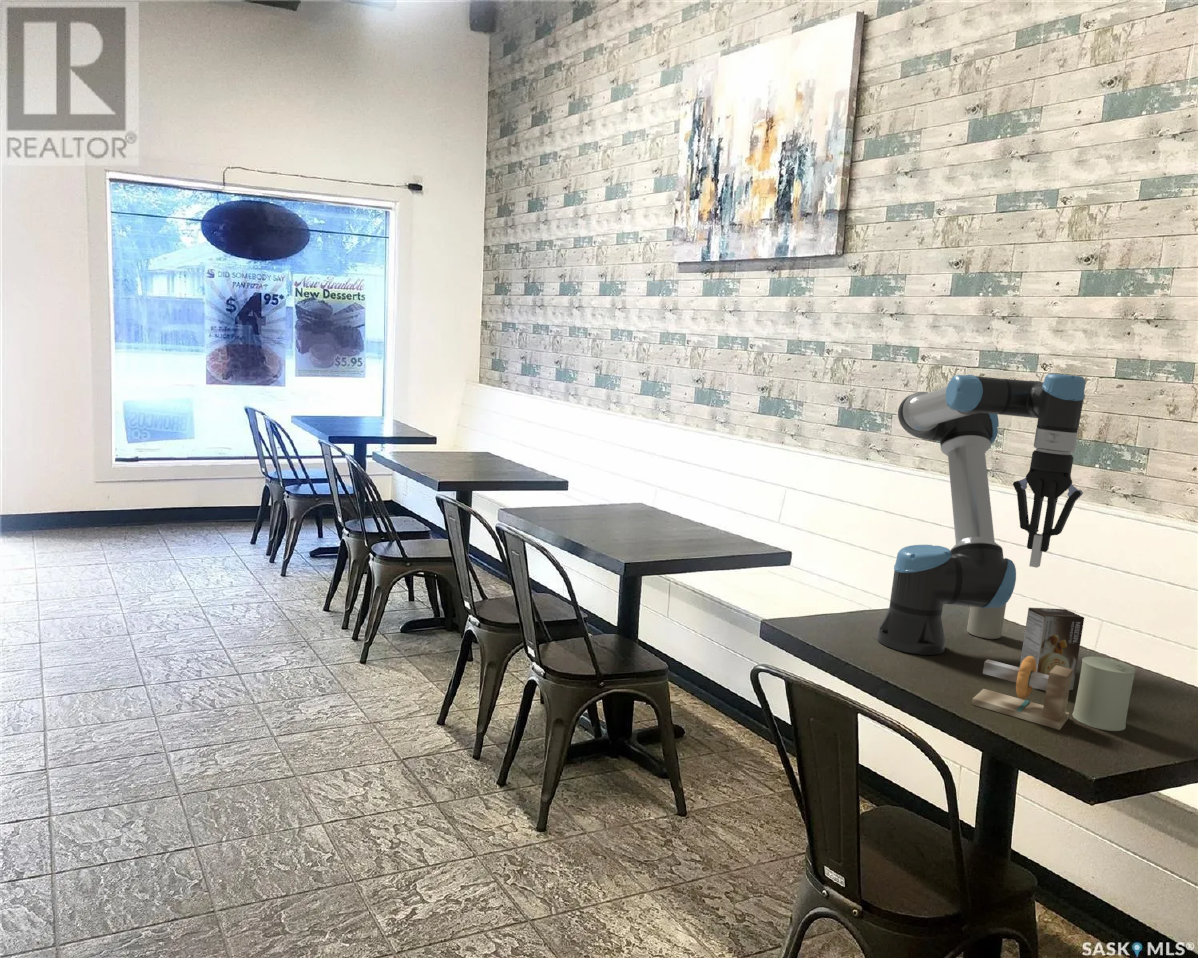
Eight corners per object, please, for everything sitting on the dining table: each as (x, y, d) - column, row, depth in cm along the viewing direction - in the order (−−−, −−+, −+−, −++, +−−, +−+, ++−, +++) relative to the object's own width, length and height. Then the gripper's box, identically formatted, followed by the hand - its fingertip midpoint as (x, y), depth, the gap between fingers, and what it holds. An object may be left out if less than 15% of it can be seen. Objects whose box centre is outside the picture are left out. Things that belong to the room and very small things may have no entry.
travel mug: (1005, 636, 237) (1017, 566, 234) (992, 641, 231) (1004, 569, 229) (974, 627, 243) (985, 559, 240) (961, 632, 237) (972, 562, 234)
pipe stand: (971, 704, 187) (979, 655, 185) (982, 694, 193) (990, 646, 192) (1059, 729, 177) (1068, 678, 176) (1068, 718, 184) (1076, 668, 182)
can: (1102, 733, 178) (1113, 671, 176) (1061, 713, 186) (1071, 654, 184) (1136, 729, 182) (1147, 669, 180) (1094, 710, 190) (1104, 652, 188)
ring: (1012, 700, 182) (1019, 660, 181) (1022, 690, 189) (1028, 651, 187) (1023, 703, 181) (1030, 663, 180) (1033, 693, 187) (1039, 654, 186)
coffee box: (1054, 679, 207) (1066, 608, 204) (1073, 690, 201) (1086, 617, 198) (1016, 678, 205) (1028, 606, 203) (1034, 689, 199) (1046, 615, 197)
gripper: (1014, 447, 191) (996, 561, 195) (1085, 457, 184) (1065, 575, 187) (1023, 446, 197) (1005, 556, 201) (1092, 455, 190) (1073, 570, 193)
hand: (1034, 565), depth 194 cm, fingers closed
